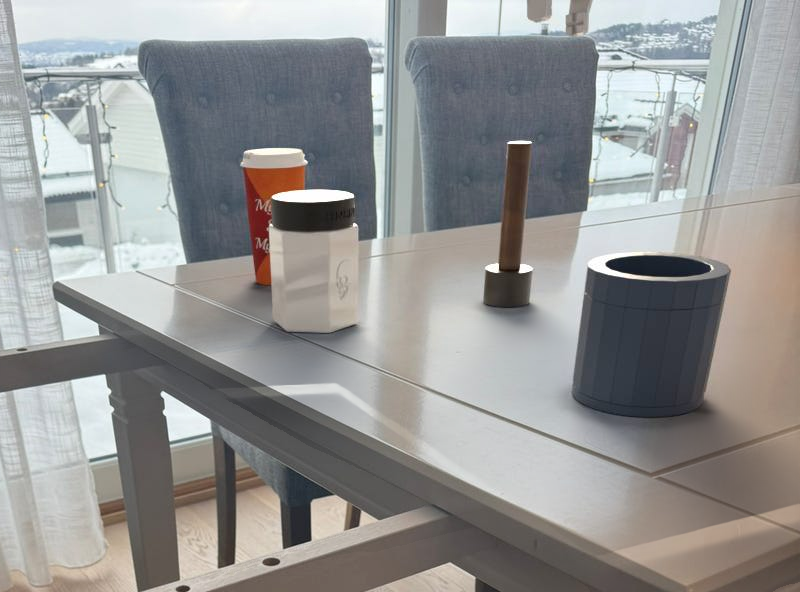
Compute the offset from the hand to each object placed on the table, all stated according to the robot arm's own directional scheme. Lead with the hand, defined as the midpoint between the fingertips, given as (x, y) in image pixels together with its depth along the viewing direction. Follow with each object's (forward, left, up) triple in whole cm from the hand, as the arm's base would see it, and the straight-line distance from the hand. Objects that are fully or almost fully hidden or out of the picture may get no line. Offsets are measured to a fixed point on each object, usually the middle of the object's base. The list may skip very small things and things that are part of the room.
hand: (559, 28), depth 87 cm
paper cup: (+20, -24, -25) cm, 40 cm away
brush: (+2, -2, -25) cm, 25 cm away
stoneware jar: (+10, +29, -25) cm, 39 cm away
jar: (+24, -4, -25) cm, 35 cm away
